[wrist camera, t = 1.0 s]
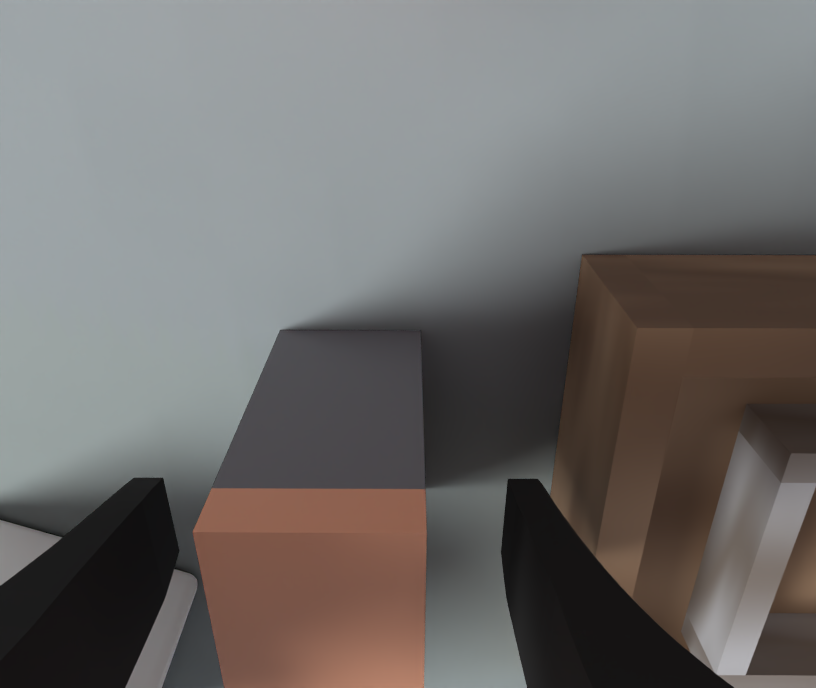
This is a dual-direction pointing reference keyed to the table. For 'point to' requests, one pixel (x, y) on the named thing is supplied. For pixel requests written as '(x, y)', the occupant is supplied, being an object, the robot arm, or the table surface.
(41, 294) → the table surface
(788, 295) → the walled box
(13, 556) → the medicine bottle
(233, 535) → the rectangular block
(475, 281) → the table surface
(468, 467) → the table surface
